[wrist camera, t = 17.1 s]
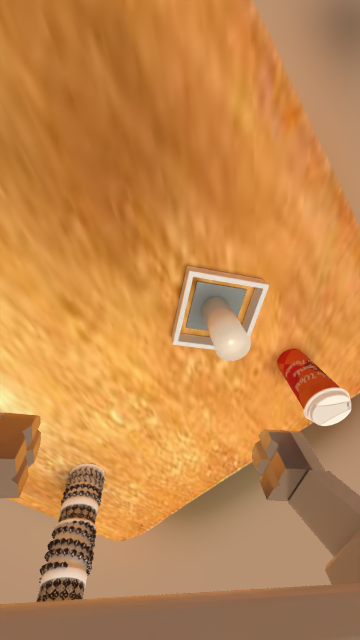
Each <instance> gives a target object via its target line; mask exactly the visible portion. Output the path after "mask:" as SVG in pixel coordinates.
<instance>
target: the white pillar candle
mask: <svg viewBox="0 0 360 640" xmlns="http://www.w3.org/2000/svg"><path fill="white" fill-rule="evenodd" d="M202 315H203V318H204V320H205V323H206V326H207V329H208V331H209V334H210V337H211V340H212V342H213V345H214V348H215V350H216V353H217V355H218V356H219V357H220V358H221V359H223V360H226V361H235V360H238V359H240V358H242V357H244V356H245V355H246V354H247V353H248V351H249V350H250V347H251V341H250V338H249V336H248V335H247V333H246V331H245V330H244V328H243V327H242V325H241V323H240V322H239V320H238V318H237V317H236V315H235V314H234V312H233V310H232V309H231V307H230V305H229V304H228V302H227V301H226V300H225V299H224V298H222V297H211V298H209V299H208V300H206V301H205V302H204V304H203V306H202Z"/></svg>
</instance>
